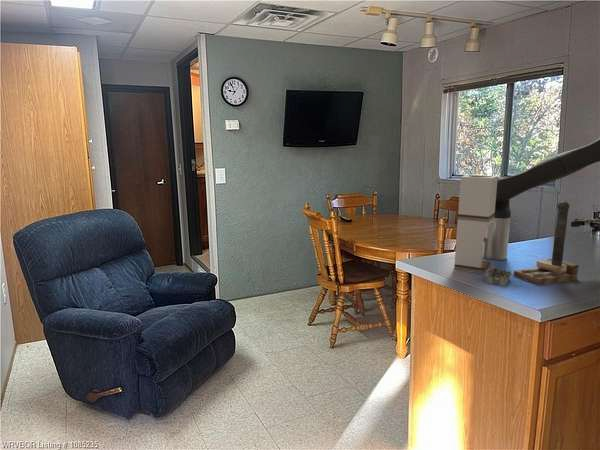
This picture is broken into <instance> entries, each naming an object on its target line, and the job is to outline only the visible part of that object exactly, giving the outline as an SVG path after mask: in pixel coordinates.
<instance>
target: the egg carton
mask: <svg viewBox="0 0 600 450" xmlns="http://www.w3.org/2000/svg"><path fill="white" fill-rule="evenodd" d="M484 274H485V276H486V277H485V278H486V279H485V282H487V283H489V284H498V285H501V286H504V285H508V283H509V281H510V279H511V278H510V277H511V276H512V271H511V270H506V269H502V268H499V267H494V266H491V265H490V267H489V268H488V270H487V271H486V272H485V273H484Z"/></svg>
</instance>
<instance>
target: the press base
mask: <svg viewBox="0 0 600 450" xmlns="http://www.w3.org/2000/svg"><path fill="white" fill-rule="evenodd" d="M547 260H550V261H552V258H548V259H547ZM562 264H564V265H567V268H566V271H562V272H553V271H550V270H547V269H543V268H540V267H537V266H535V267H531V268H525V269H524V268H522V269H515V270H513V277H516V278H517V279H522V280H524V281H527V282H529V283H533V284H535V285H538V286H541V285H542V286H543V285H547V284H553V283H554V284H555V283H556V284H557V283H562V282H569V281H576V280H578V277H579V274H578V273H579V264H575V263H573V262H568V261H565V260H562Z"/></svg>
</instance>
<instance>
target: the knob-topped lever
mask: <svg viewBox="0 0 600 450" xmlns="http://www.w3.org/2000/svg"><path fill="white" fill-rule="evenodd" d="M556 207H557V213H556V220H555V221H556V222H555V229H554V237H553V238H554V239H553V247H552V257H551V259H552V261H550V260H548V259H542V260H536V266H535V267H540V268H543V269H547V270H550V271H553V272H562V271H566V268H567V265H564V264H562V261H564V260H563V259H564V250H565V241H566V235H567V224H568V217H569V216H568V215H569V209H570V203H569V202H567V201H566V200H562V201H560V202H558V204H557V205H556Z"/></svg>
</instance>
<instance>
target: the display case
mask: <svg viewBox="0 0 600 450" xmlns="http://www.w3.org/2000/svg"><path fill="white" fill-rule="evenodd" d="M498 177H499V176H498V175H493V176H490V177H489V176H488V177H487V176H480V177H479V176H471V174H465V175H462V176H460V182H459V183H460V184H459V198H458V211H457V226H456V236H455V237H456V239H455V240H456V241H455V251H454V253H455V255H454V267H453V268H454V269H453V270H456V271H463V272H469V273H477V274H482V275H484V274H485V272H487V270H488V269H489V268H490V267H491V261H489V260H483V243H484V242H486V241H487V234H488V226H489V225H490V224H491V223H493V222H494V214H495V203H496V191H497V180H498Z"/></svg>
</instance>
